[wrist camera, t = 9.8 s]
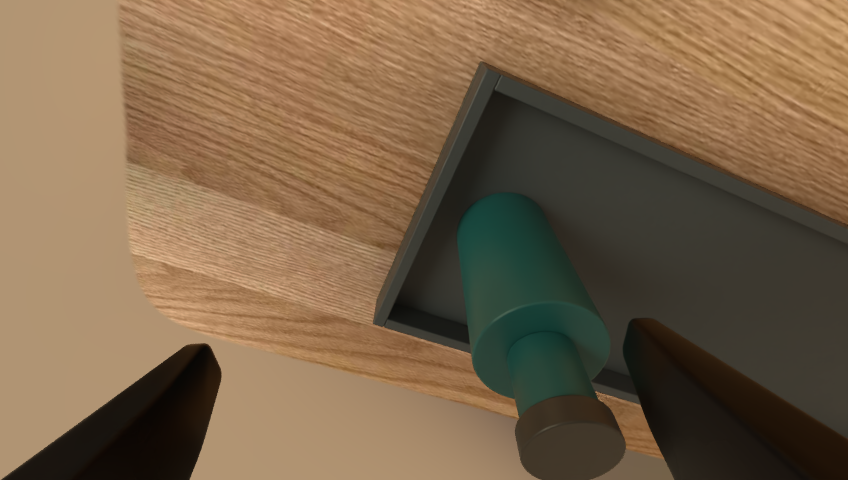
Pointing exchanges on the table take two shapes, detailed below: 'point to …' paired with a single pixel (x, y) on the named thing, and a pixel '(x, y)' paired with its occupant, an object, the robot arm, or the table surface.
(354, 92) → the table surface
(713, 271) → the tray
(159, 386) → the robot arm
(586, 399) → the bottle
